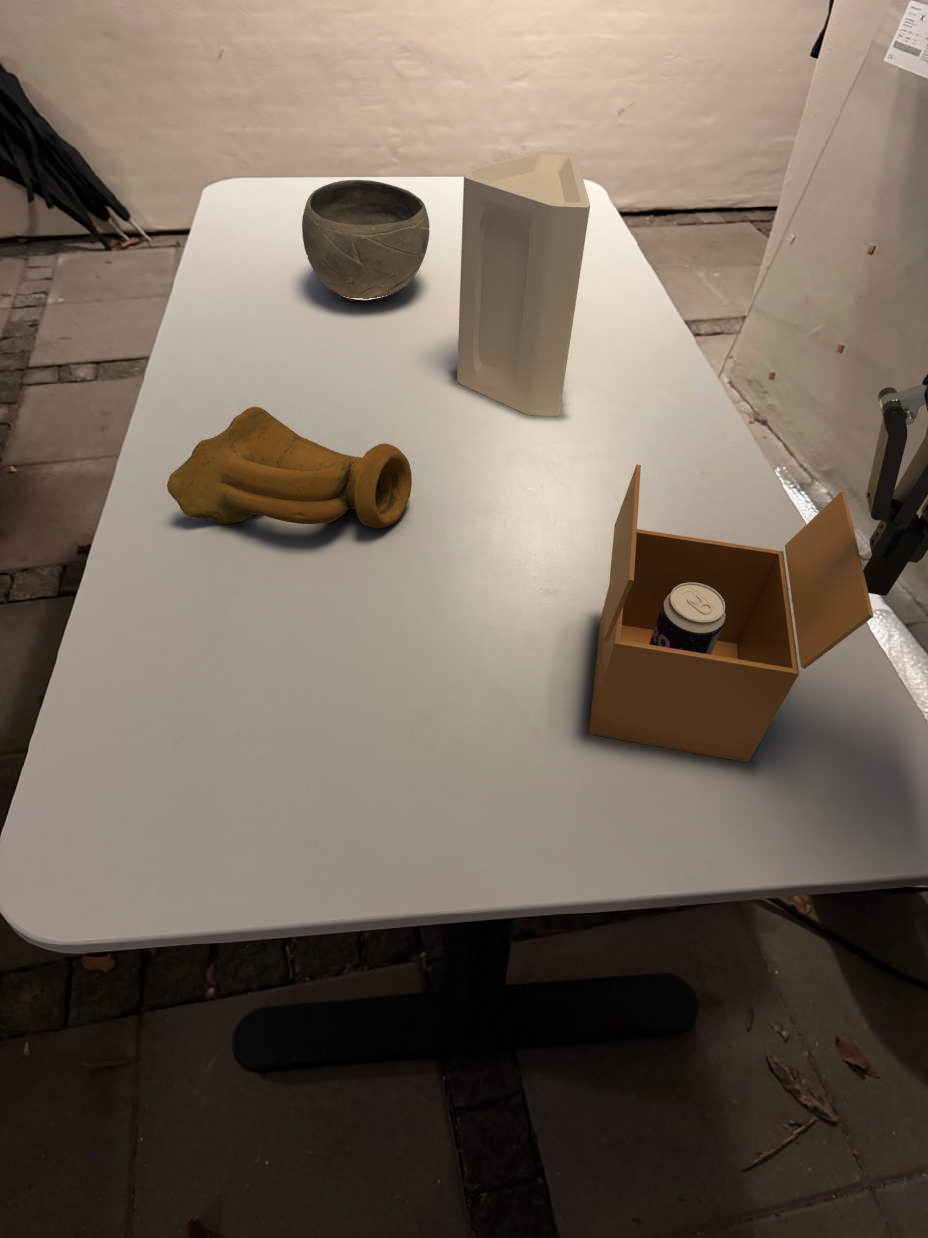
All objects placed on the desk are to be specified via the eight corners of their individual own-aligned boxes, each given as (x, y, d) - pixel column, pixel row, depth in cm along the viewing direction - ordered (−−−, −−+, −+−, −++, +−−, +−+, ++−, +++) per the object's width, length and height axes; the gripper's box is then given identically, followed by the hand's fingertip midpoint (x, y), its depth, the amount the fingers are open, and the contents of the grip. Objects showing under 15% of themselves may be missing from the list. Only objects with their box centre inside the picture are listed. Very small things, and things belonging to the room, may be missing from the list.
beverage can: (664, 653, 81) (693, 570, 72) (706, 688, 78) (743, 606, 69) (626, 678, 78) (652, 596, 69) (668, 715, 75) (701, 634, 66)
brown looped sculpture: (267, 389, 99) (416, 411, 90) (275, 487, 105) (415, 517, 96) (155, 416, 84) (320, 446, 76) (172, 528, 90) (327, 568, 82)
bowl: (356, 334, 124) (349, 237, 113) (283, 286, 134) (271, 193, 123) (454, 297, 134) (456, 205, 123) (379, 256, 144) (375, 167, 133)
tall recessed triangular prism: (457, 345, 123) (464, 147, 102) (550, 348, 123) (575, 152, 103) (456, 412, 110) (463, 202, 90) (560, 416, 111) (591, 207, 90)
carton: (740, 644, 83) (812, 488, 67) (748, 762, 73) (835, 612, 57) (591, 619, 84) (629, 462, 69) (579, 732, 74) (620, 578, 59)
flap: (784, 545, 72) (788, 547, 72) (800, 667, 62) (804, 669, 62) (841, 490, 67) (845, 492, 67) (869, 614, 57) (874, 616, 57)
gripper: (1135, 294, 49) (946, 565, 66) (919, 268, 50) (790, 540, 67) (1186, 354, 44) (967, 629, 61) (944, 323, 45) (798, 601, 62)
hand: (874, 582), depth 64 cm, fingers closed
